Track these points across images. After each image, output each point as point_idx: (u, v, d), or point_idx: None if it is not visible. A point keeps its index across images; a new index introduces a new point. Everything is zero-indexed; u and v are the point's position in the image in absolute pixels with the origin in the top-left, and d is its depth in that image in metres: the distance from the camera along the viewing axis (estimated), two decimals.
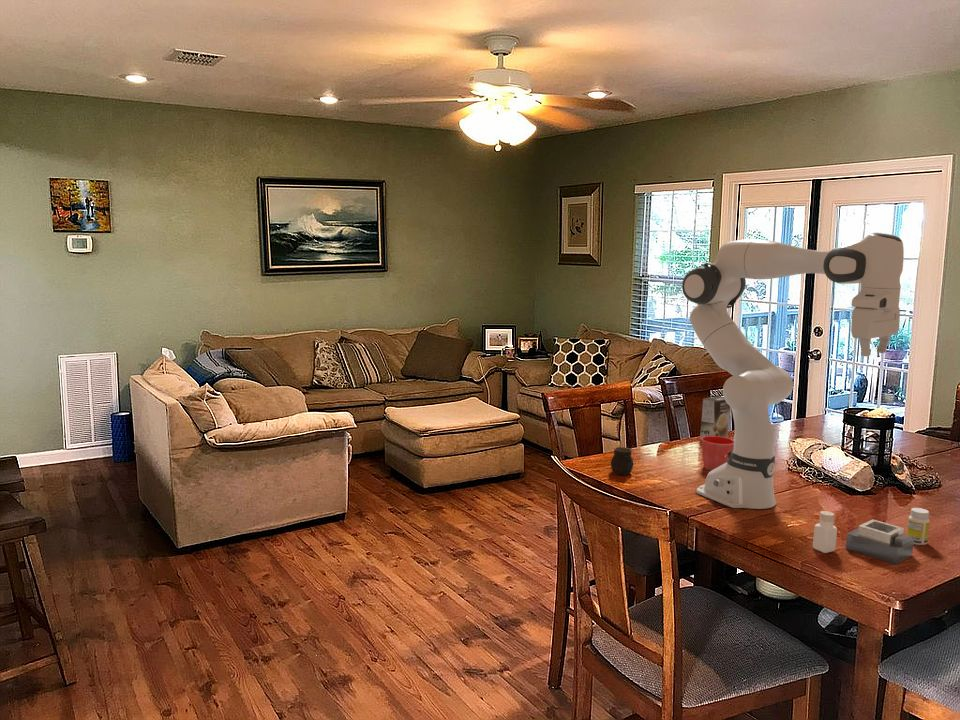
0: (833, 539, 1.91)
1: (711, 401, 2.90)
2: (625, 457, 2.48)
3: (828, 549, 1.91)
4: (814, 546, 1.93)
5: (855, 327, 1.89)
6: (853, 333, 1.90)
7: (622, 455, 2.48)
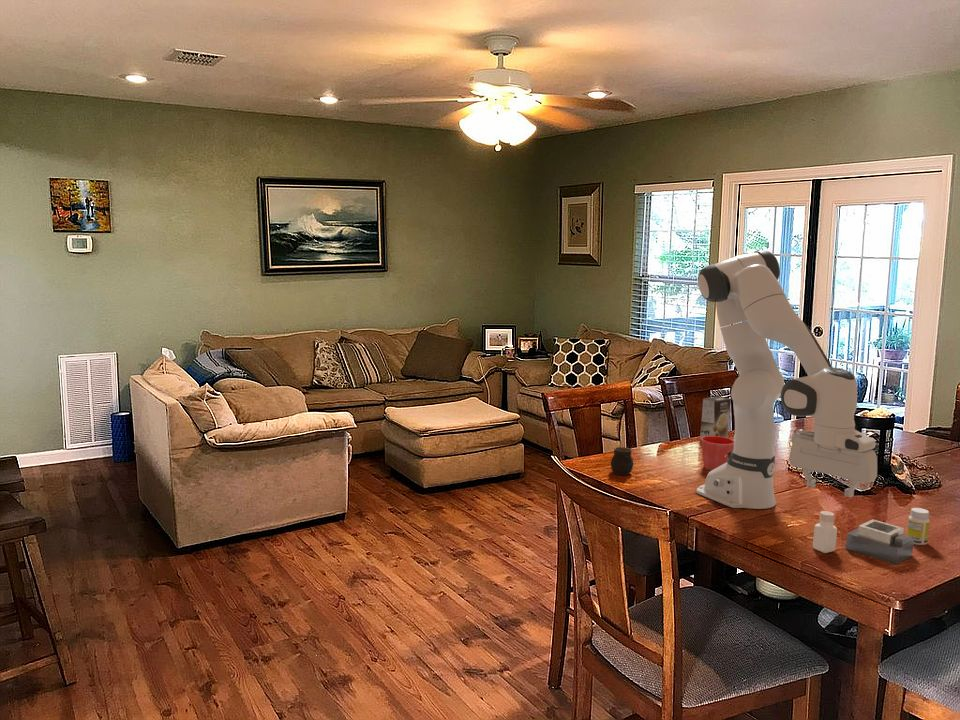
0: (833, 539, 1.91)
1: (711, 401, 2.90)
2: (625, 457, 2.48)
3: (828, 549, 1.91)
4: (814, 546, 1.93)
5: (872, 472, 1.81)
6: (871, 479, 1.81)
7: (622, 455, 2.48)
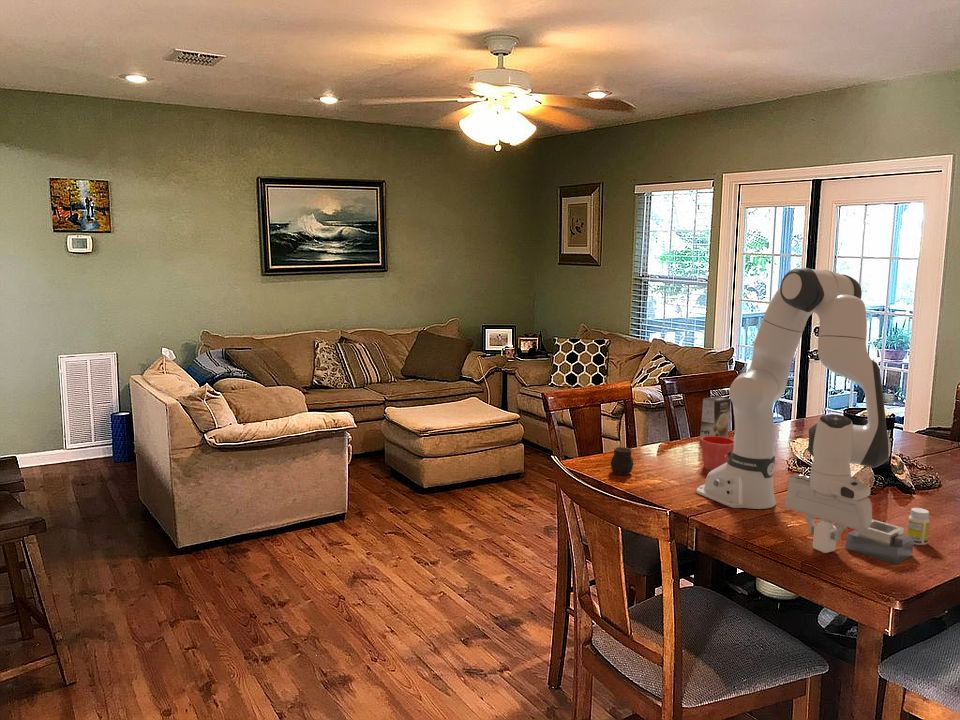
0: None
1: (711, 401, 2.90)
2: (625, 457, 2.48)
3: (828, 549, 1.91)
4: (814, 546, 1.93)
5: (866, 520, 1.83)
6: (865, 526, 1.83)
7: (622, 455, 2.48)
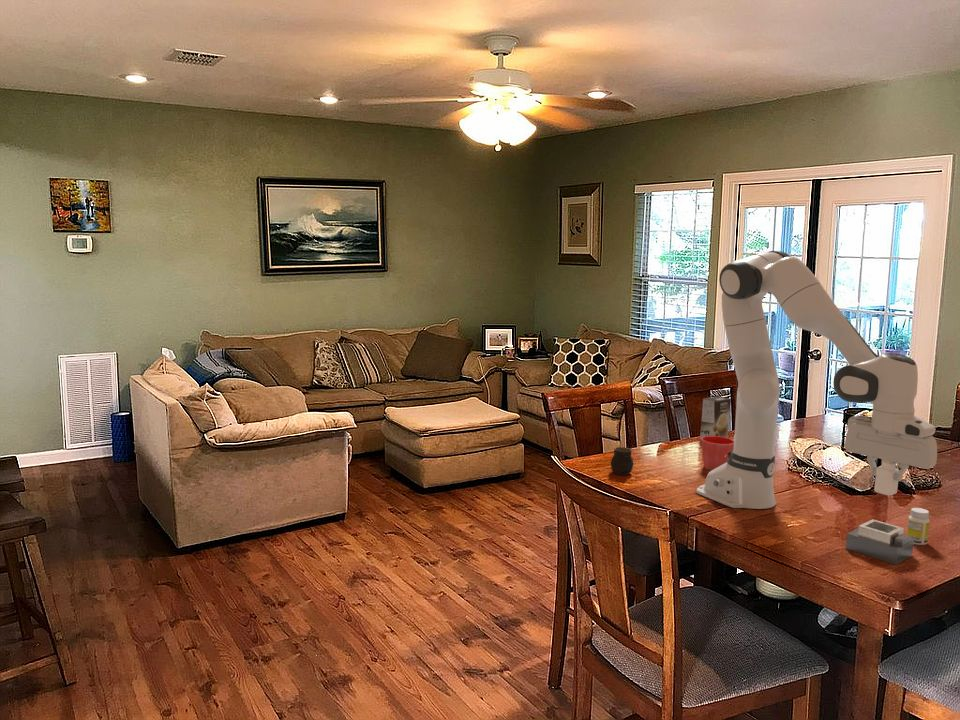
0: (896, 481, 1.88)
1: (711, 401, 2.90)
2: (625, 457, 2.48)
3: (891, 491, 1.88)
4: (876, 489, 1.90)
5: (932, 458, 1.80)
6: (931, 464, 1.80)
7: (622, 455, 2.48)
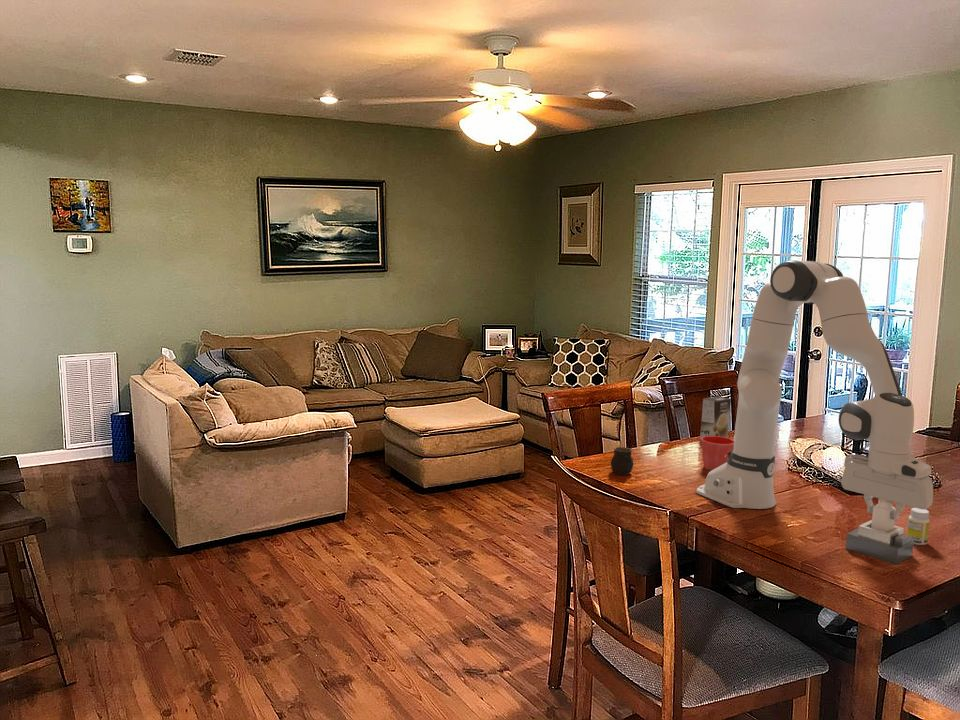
0: (892, 520, 1.90)
1: (711, 401, 2.90)
2: (625, 457, 2.48)
3: (888, 530, 1.89)
4: (873, 528, 1.91)
5: (928, 499, 1.82)
6: (927, 505, 1.82)
7: (623, 455, 2.48)
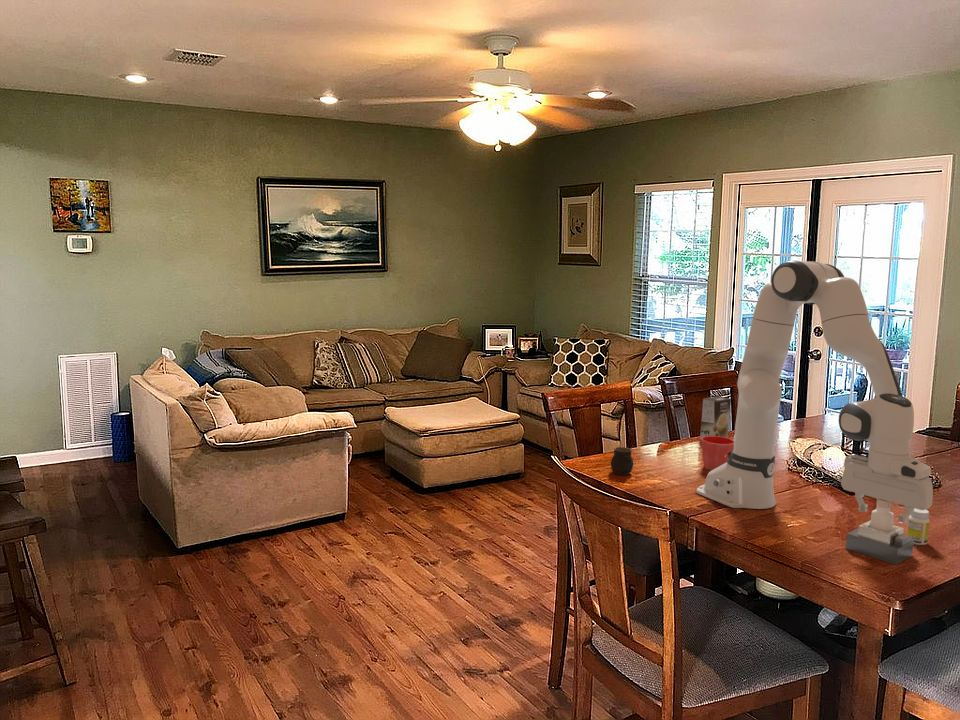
0: (890, 525, 1.90)
1: (711, 401, 2.90)
2: (625, 457, 2.48)
3: None
4: None
5: (928, 499, 1.81)
6: (927, 506, 1.81)
7: (622, 455, 2.48)
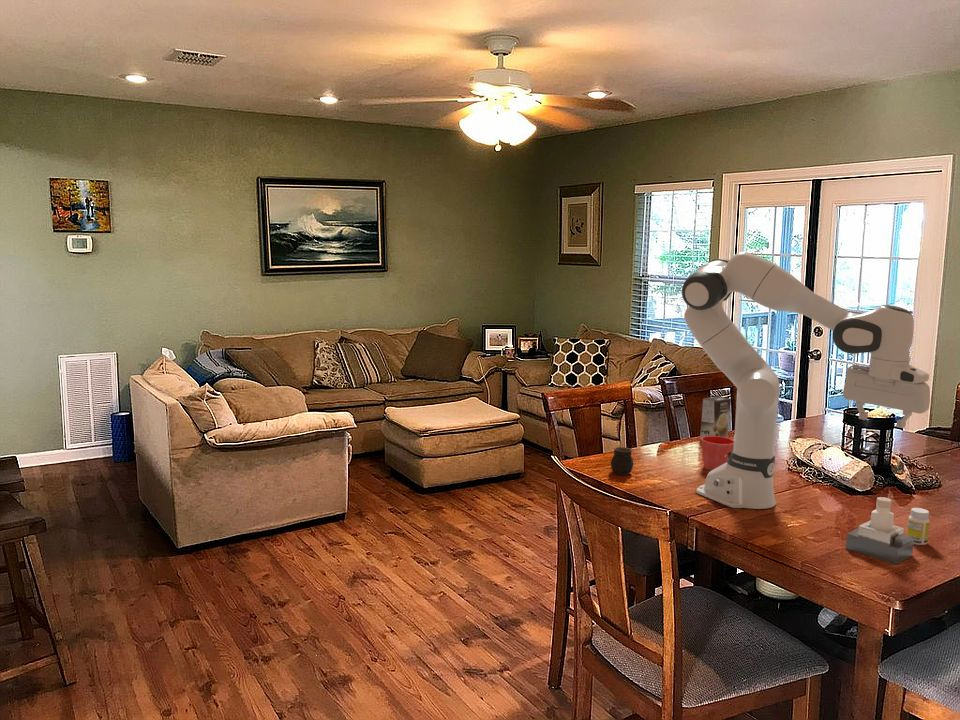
0: (890, 525, 1.90)
1: (711, 401, 2.90)
2: (625, 457, 2.48)
3: None
4: None
5: (925, 403, 1.91)
6: (924, 409, 1.91)
7: (623, 455, 2.48)
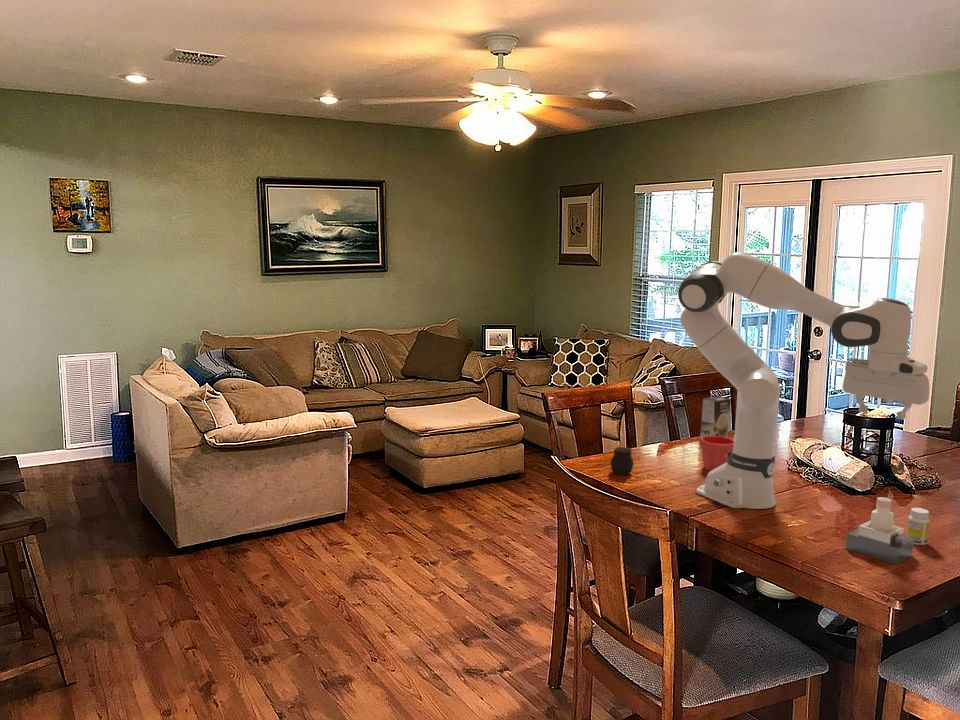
0: (890, 525, 1.90)
1: (711, 401, 2.90)
2: (625, 457, 2.48)
3: None
4: None
5: (924, 394, 1.92)
6: (923, 400, 1.92)
7: (622, 455, 2.48)
